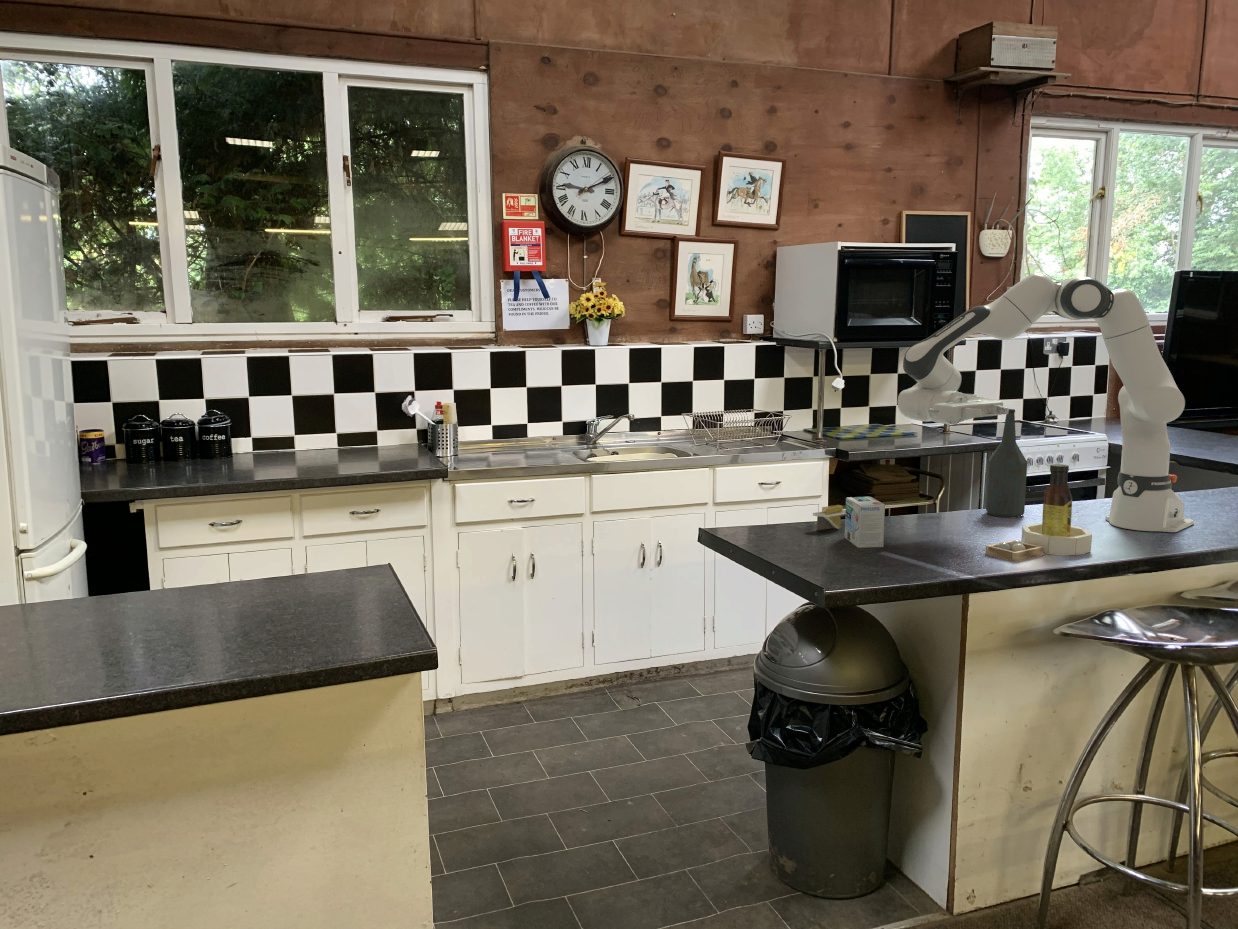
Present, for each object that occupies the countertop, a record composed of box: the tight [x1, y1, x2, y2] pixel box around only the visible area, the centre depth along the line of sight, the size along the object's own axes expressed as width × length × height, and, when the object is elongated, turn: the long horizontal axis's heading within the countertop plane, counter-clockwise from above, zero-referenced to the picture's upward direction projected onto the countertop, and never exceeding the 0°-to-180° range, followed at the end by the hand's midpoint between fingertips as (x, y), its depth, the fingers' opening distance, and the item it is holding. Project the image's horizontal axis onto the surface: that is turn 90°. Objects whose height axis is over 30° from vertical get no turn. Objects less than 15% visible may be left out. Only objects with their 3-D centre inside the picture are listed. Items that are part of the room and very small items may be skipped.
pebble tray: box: [985, 539, 1044, 563], centre depth 218 cm, size 10×8×3 cm
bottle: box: [985, 408, 1028, 519], centre depth 263 cm, size 10×10×30 cm
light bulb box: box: [844, 496, 886, 549], centre depth 234 cm, size 11×7×11 cm, turn 5°
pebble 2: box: [1010, 539, 1023, 550], centre depth 220 cm, size 3×3×3 cm
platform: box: [812, 504, 846, 531], centre depth 249 cm, size 12×18×7 cm, turn 119°
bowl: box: [1020, 523, 1093, 556], centre depth 224 cm, size 14×14×5 cm
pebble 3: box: [1012, 543, 1026, 552], centre depth 217 cm, size 3×3×3 cm
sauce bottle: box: [1041, 463, 1073, 537], centre depth 223 cm, size 6×6×20 cm
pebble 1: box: [997, 541, 1010, 551], centre depth 218 cm, size 3×3×3 cm
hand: (994, 412), depth 236 cm, fingers open, 8 cm apart
